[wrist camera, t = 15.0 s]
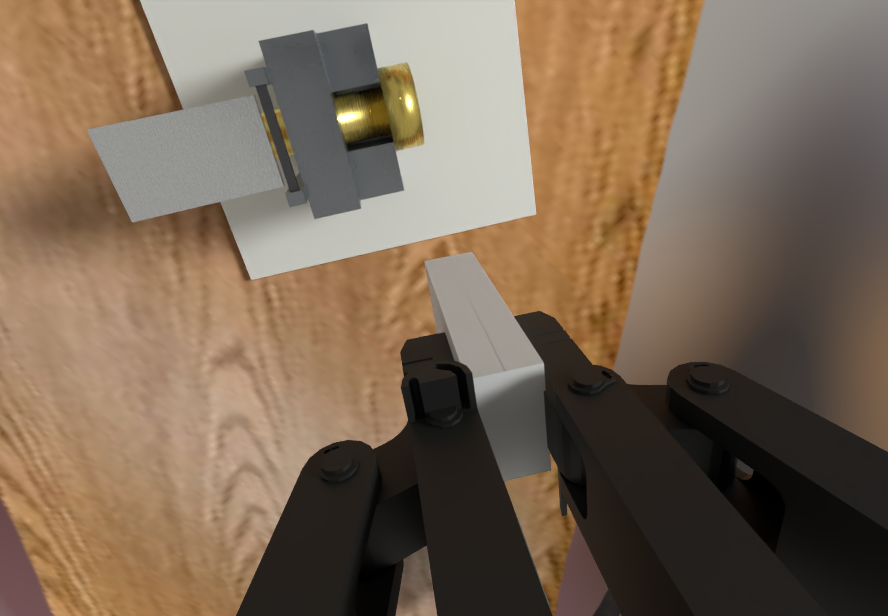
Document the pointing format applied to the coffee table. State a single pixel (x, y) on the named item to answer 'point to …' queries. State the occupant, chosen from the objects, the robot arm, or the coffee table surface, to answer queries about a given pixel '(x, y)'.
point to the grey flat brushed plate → (188, 157)
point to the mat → (422, 168)
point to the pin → (376, 112)
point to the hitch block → (324, 118)
